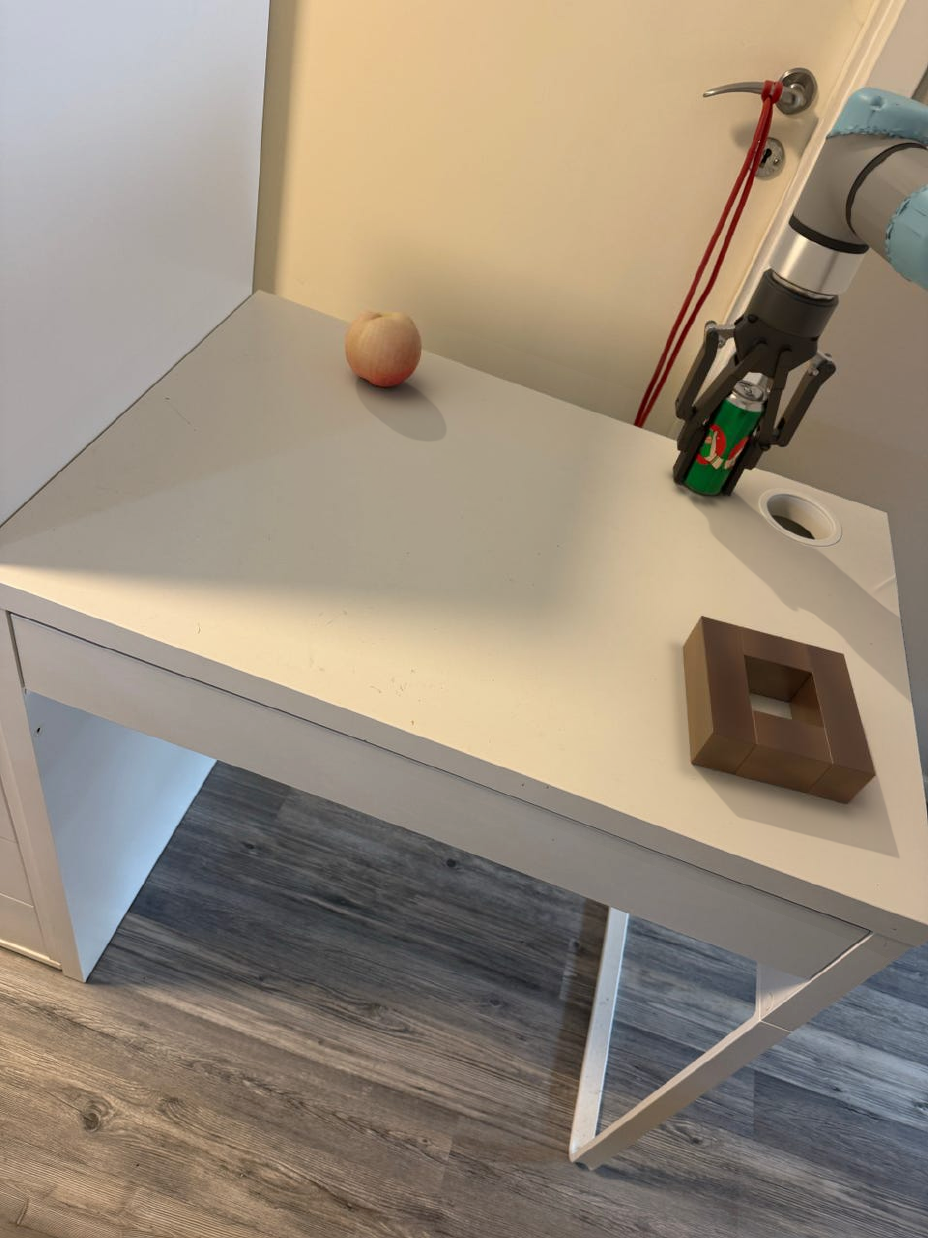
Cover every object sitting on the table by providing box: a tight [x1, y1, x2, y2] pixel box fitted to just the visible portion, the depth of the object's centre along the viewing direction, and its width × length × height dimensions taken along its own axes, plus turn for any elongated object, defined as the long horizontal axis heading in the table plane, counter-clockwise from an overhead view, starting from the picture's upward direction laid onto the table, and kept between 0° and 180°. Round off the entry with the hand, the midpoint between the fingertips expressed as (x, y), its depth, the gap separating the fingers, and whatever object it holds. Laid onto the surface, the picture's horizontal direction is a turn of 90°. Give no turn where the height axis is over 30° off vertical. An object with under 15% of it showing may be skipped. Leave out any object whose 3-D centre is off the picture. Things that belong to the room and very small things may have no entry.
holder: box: [682, 615, 877, 804], centre depth 69 cm, size 13×13×4 cm
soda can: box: [682, 379, 767, 496], centre depth 91 cm, size 5×5×12 cm
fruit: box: [344, 311, 423, 388], centre depth 93 cm, size 8×8×8 cm
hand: (701, 481), depth 95 cm, fingers closed on soda can, 5 cm apart
